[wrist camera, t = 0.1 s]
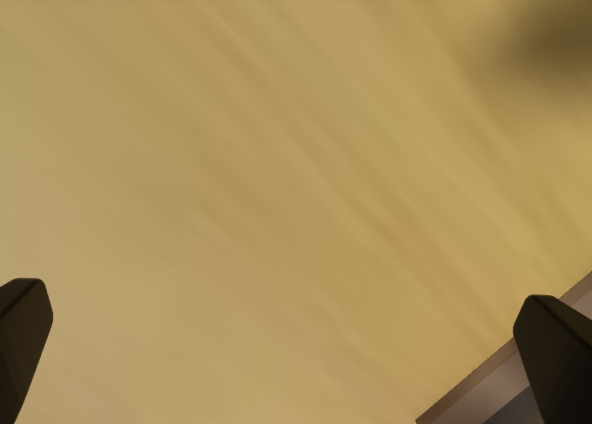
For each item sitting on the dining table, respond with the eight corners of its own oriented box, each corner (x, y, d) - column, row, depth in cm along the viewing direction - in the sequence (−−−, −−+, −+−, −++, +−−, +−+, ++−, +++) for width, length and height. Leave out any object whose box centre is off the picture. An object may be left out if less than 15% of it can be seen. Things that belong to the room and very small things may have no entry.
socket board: (542, 523, 32) (550, 537, 31) (415, 420, 28) (420, 432, 27) (732, 383, 29) (748, 393, 28) (616, 250, 26) (629, 257, 25)
